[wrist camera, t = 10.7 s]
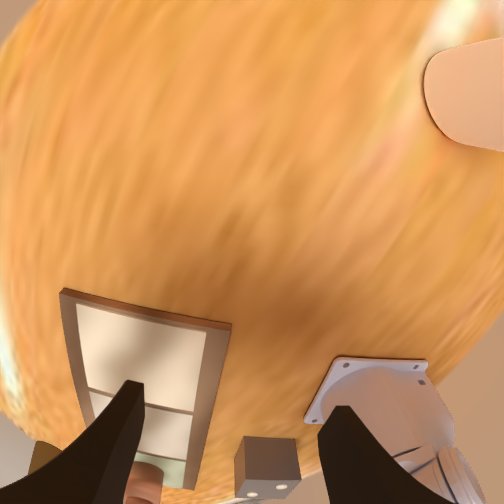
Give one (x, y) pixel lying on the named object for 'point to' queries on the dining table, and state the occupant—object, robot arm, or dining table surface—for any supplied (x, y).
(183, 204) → the dining table surface
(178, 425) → the game board
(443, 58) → the can
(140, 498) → the pawn
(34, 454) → the olive brown pawn
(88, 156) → the dining table surface
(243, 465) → the die
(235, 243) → the dining table surface
